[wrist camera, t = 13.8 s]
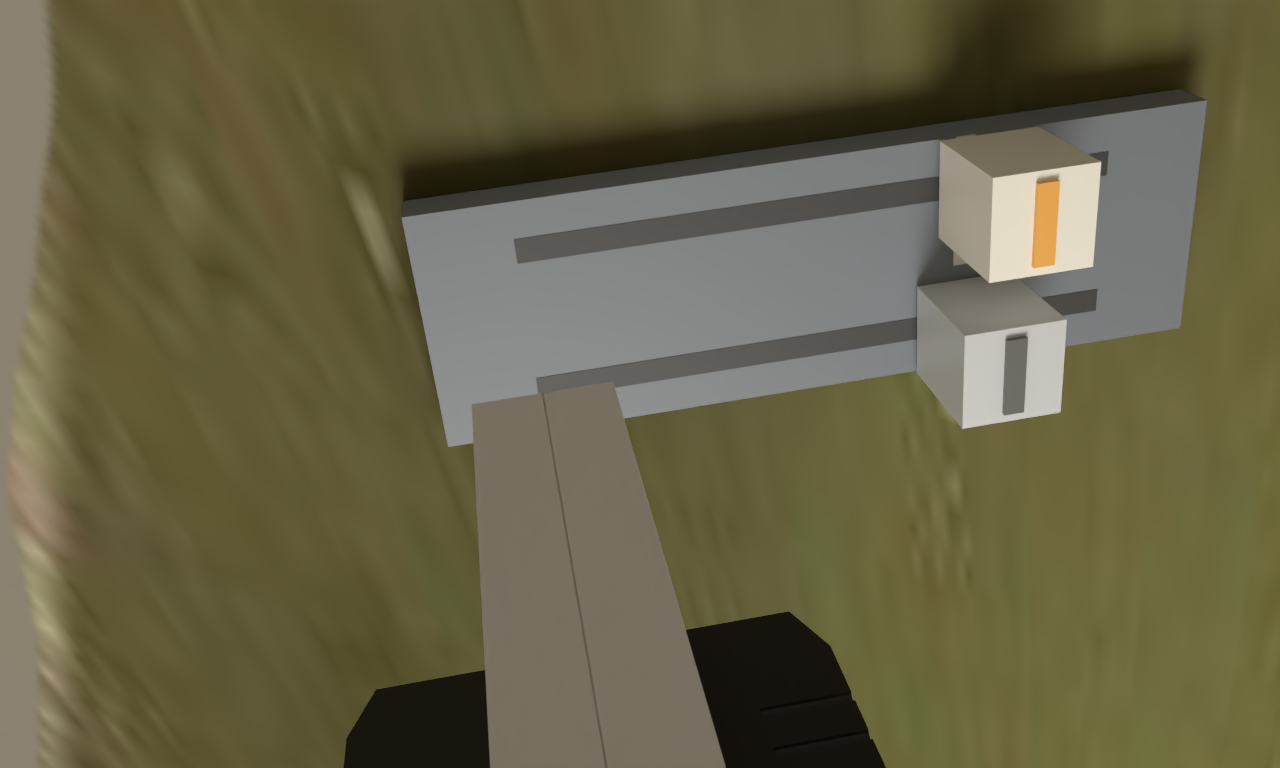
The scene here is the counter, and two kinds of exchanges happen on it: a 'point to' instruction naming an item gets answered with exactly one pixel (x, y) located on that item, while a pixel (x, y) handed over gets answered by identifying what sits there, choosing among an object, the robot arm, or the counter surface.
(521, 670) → the robot arm
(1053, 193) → the fader
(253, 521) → the counter surface
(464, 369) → the console
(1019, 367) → the fader
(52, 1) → the counter surface
